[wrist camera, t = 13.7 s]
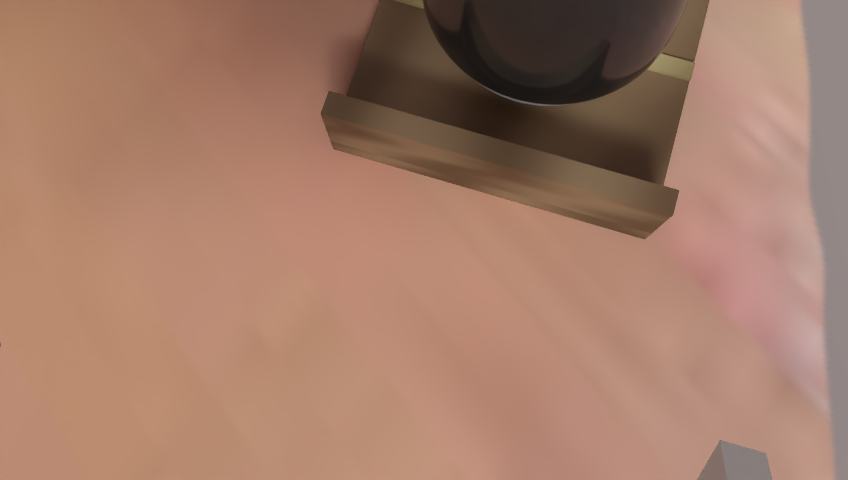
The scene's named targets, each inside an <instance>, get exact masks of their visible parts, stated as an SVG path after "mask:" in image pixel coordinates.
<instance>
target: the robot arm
mask: <svg viewBox="0 0 848 480" xmlns="http://www.w3.org/2000/svg"><path fill="white" fill-rule="evenodd" d="M0 346H1V344H0ZM697 480H772V476H771V472H770V468H769V464H768V460H767V456H766V453H763V452H759V451H756V450H753V449H749V448H746V447H742V446H739V445H735V444H732V443H728V442H725V441H721V440H720V441H719V443H718V445H717V446H716V448H715V450H714V452H713V453H712V455H711V457H710V458H709V460H708V462H707V464H706V465H705V467H704V469H703V470H702V472H701V474H700V476H699V477H698V479H697Z"/></svg>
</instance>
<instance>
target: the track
mask: <svg viewBox="0 0 848 480" xmlns="http://www.w3.org/2000/svg"><path fill="white" fill-rule="evenodd" d="M708 4H709V0H688V2H687V5H686V8H685V10H684V13H683V15H682V18H681V20H680V22H679V24H678V26H677V28H676V30H675V32H674V34H673V36H672V37H671V39H670V41H669V42H668V44H667V45H666V47H665V48H664V50H663V51H662V53H661V54H660V55H659V57H658V58H657V59H656V60H655V61H654V63H653V64H652V65H651V66H650V67H649V68H648V69H647V70H646V71H645V72H643V73H642V74H641V75H640V76H639V77H637V78H636V79H635V80H633V81H632V82H630V83H629V84H627V85H626V86H624V87H622V88H620V89H619V90H617V91H615V92H612V93H610V94H608V95H605V96H603V97H600V98H597V99H593V100H590V101H585V102H580V103H574V104H568V105H559V106H539V105H530V104H524V103H520V102H516V101H513V100H510V99H507V98H505V97H502V96H500V95H498V94H496V93H494V92H492V91H490V90H488V89H487V88H485V87H483V86H482V85H481V84H479V83H478V82H477V81H475V80H474V79H472V78H471V77H470V76H468V75H467V74H466V73H465V72H463V71H462V70H461V69H460V68H459V67H458V66H457V65H456V64H455V63H454V62H453V61H452V60H451V59H450V58H449V56H448V55H447V54H446V53H445V51H444V50H443V49H442V47H441V46H440V44H439V43H438V41H437V39H436V38H435V36H434V34H433V32H432V30H431V27H430V25H429V22H428V20H427V17H426V14H425V10H424V5H423V0H380V3H379V6H378V9H377V11H376V14H375V17H374V20H373V23H372V25H371V28H370V31H369V34H368V37H367V40H366V42H365V45H364V48H363V51H362V54H361V57H360V59H359V62H358V65H357V68H356V71H355V73H354V76H353V79H352V82H351V85H350V88H349V90H348V93H347V96H345V95H342V94H338V93H335V92H331V91H329V92H328V95H327V97H326V100H325V103H324V106H323V109H322V111H321V116H322V119H323V121H324V124H325V127H326V130H327V132H328V135H329V138H330V141H331V143H332V146H333V149H336V150H339V151H343V152H346V153H349V154H353V155H356V156H360V157H363V158H367V159H370V160H374V161H377V162H380V163H384V164H387V165H391V166H394V167H398V168H401V169H405V170H408V171H411V172H415V173H418V174H422V175H425V176H429V177H432V178H436V179H439V180H442V181H446V182H449V183H453V184H456V185H460V186H463V187H467V188H470V189H474V190H477V191H480V192H484V193H487V194H491V195H494V196H498V197H501V198H505V199H508V200H511V201H515V202H518V203H522V204H525V205H529V206H532V207H536V208H539V209H542V210H546V211H549V212H553V213H556V214H560V215H563V216H567V217H570V218H573V219H577V220H580V221H584V222H587V223H591V224H594V225H598V226H601V227H604V228H608V229H611V230H615V231H618V232H622V233H625V234H629V235H632V236H635V237H639V238H642V239H646V238H647V237H648V236H649V235H650V234H652V233H653V232H654V231H655V230H656V229H657V228H658V227H660V226H661V225H662V224H663V223H664V222H665V221H667V220H668V219H669V218H670V217H671V216H672V215H673V213H674V209H675V205H676V201H677V197H678V193H679V190H676V189H673V188H669V187H666V186H663V185H664V181H665V177H666V173H667V169H668V165H669V161H670V157H671V153H672V149H673V145H674V141H675V137H676V133H677V128H678V124H679V120H680V116H681V112H682V108H683V104H684V100H685V96H686V92H687V88H688V84H689V81H690V80H691V76H692V72H693V68H694V64H695V63H694V60H695V56H696V52H697V48H698V44H699V40H700V36H701V32H702V28H703V24H704V20H705V16H706V12H707V8H708Z"/></svg>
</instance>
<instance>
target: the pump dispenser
mask: <svg viewBox="0 0 848 480" xmlns="http://www.w3.org/2000/svg"><path fill="white" fill-rule="evenodd" d="M687 2H688V0H423V5H424V10H425V14H426V17H427V20H428V22H429V25H430V27H431V30H432V32H433V34H434V36H435V38H436V39H437V41H438V43H439V44H440V46H441V47H442V49H443V50H444V51H445V53H446V54H447V55H448V56H449V58H450V59H451V60H452V61H453V62H454V63H455V64H456V65H457V66H458V67H459V68H460V69H461V70H462V71H463V72H465V73H466V74H467V75H468V76H470V77H471V78H472V79H474V80H475V81H477V82H478V83H479V84H481V85H482V86H483V87H485V88H487V89H488V90H490V91H492V92H494V93H496V94H498V95H500V96H502V97H505V98H507V99H510V100H513V101H516V102H520V103H524V104H530V105H539V106H559V105H568V104H574V103H580V102H585V101H590V100H593V99H597V98H600V97H603V96H605V95H608V94H610V93H612V92H615V91H617V90H619V89H620V88H622V87H624V86H626V85H627V84H629V83H630V82H632V81H633V80H635V79H636V78H637V77H639V76H640V75H641V74H642V73H643V72H645V71H646V70H647V69H648V68H649V67H650V66H651V65H652V64H653V63H654V61H655V60H656V59H657V58H658V57H659V55H660V54H661V53H662V51H663V50H664V48H665V47H666V45H667V44H668V42H669V41H670V39H671V37H672V36H673V34H674V32H675V30H676V28H677V26H678V24H679V22H680V20H681V18H682V15H683V13H684V10H685V8H686V5H687Z"/></svg>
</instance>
